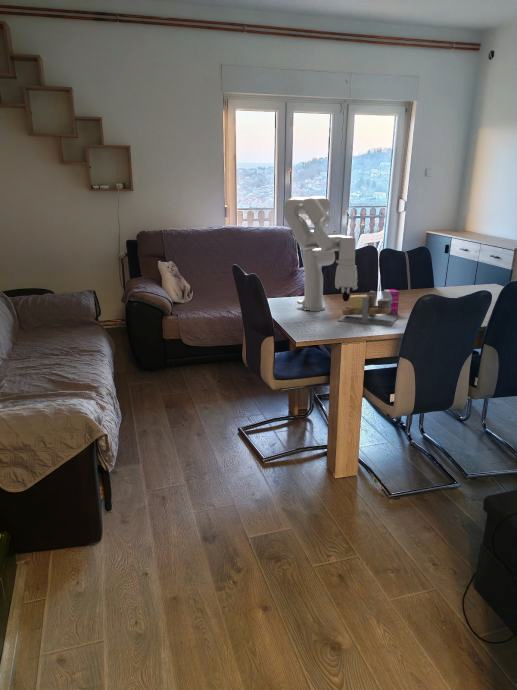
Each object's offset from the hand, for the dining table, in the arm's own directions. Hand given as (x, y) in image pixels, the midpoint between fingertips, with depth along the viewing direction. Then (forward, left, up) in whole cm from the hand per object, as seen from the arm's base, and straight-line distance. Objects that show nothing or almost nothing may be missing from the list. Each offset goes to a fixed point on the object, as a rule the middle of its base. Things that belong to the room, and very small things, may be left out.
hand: (345, 300), depth 249 cm
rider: (+7, 0, -4) cm, 8 cm away
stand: (+11, 0, -9) cm, 14 cm away
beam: (+10, 0, -5) cm, 12 cm away
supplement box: (+18, +18, -9) cm, 27 cm away
